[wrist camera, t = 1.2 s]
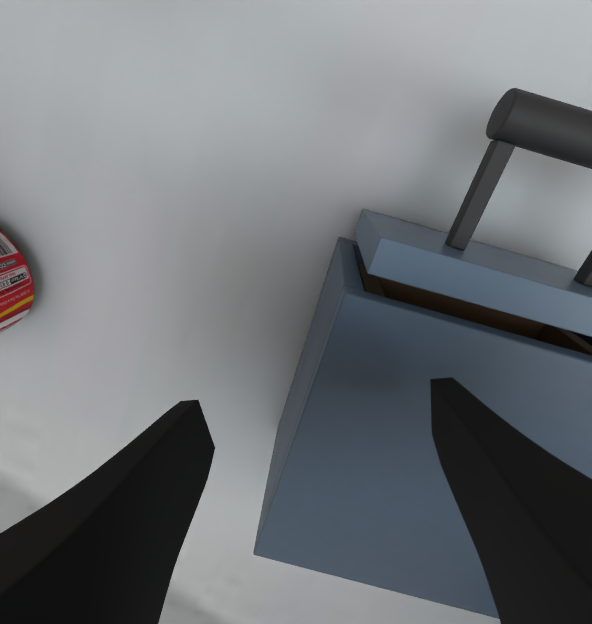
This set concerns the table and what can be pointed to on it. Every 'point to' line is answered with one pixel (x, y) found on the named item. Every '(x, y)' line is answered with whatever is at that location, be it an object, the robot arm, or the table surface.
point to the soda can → (13, 284)
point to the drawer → (484, 258)
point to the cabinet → (402, 438)
